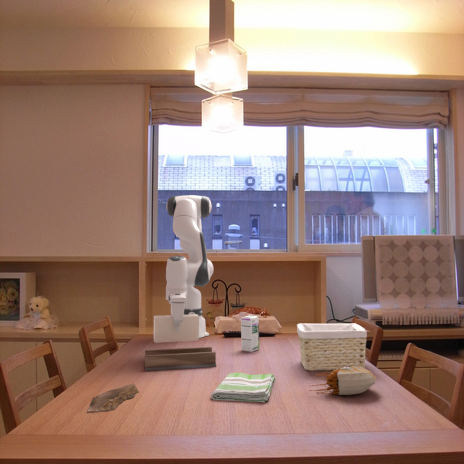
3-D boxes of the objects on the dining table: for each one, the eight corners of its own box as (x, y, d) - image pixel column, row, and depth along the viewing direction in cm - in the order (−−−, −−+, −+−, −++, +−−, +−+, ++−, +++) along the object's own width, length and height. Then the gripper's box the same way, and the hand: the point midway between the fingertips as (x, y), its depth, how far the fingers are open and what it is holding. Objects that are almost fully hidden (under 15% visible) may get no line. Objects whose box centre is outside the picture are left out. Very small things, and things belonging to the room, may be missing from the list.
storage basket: (301, 372, 153) (300, 330, 154) (296, 360, 169) (295, 322, 170) (369, 372, 152) (368, 330, 153) (357, 360, 168) (357, 322, 169)
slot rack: (144, 362, 167) (144, 349, 167) (211, 358, 172) (211, 346, 173) (145, 371, 155) (145, 357, 156) (216, 366, 161) (216, 353, 161)
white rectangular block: (153, 340, 178) (153, 315, 178) (196, 337, 182) (197, 314, 182) (154, 342, 173) (154, 317, 173) (198, 340, 177) (198, 316, 177)
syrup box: (252, 352, 183) (251, 317, 184) (240, 350, 187) (240, 316, 187) (259, 349, 188) (259, 316, 188) (248, 347, 191) (248, 314, 192)
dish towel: (209, 401, 126) (209, 389, 126) (226, 378, 148) (226, 367, 148) (268, 405, 122) (267, 392, 122) (276, 380, 145) (276, 370, 145)
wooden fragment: (106, 416, 114) (106, 412, 114) (71, 412, 117) (71, 408, 117) (151, 386, 139) (151, 383, 139) (121, 384, 142) (121, 380, 142)
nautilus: (313, 403, 123) (302, 389, 138) (387, 397, 124) (368, 383, 139) (311, 375, 124) (300, 364, 139) (384, 369, 125) (365, 358, 140)
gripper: (167, 292, 187) (167, 324, 187) (170, 298, 167) (170, 334, 167) (182, 292, 189) (181, 324, 188) (186, 298, 169) (186, 333, 168)
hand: (176, 329), depth 177 cm, fingers closed on white rectangular block, 5 cm apart
